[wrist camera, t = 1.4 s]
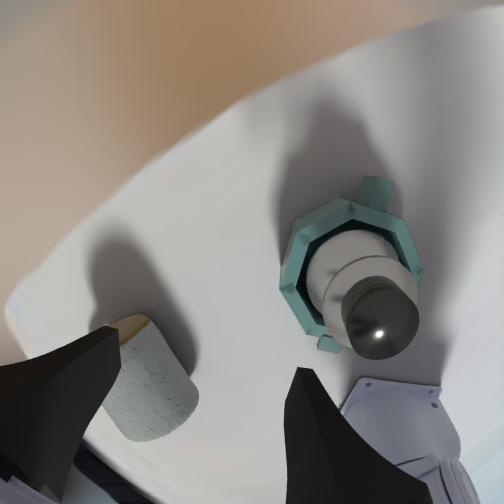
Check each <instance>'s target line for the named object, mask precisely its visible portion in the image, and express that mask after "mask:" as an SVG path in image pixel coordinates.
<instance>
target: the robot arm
mask: <svg viewBox="0 0 504 504" xmlns="http://www.w3.org/2000/svg"><path fill="white" fill-rule="evenodd" d="M121 367H122V365H121V355H120V344H119V330H118V329H116V328H112V327H109V326H103V327H101V328H99V329H97V330H95V331H93V332H91V333H89V334H87V335H85V336H83V337H81V338H79V339H77V340H75V341H73V342H71V343H69V344H67V345H65V346H63V347H60V348H58V349H56V350H54V351H51V352H49V353H47V354H44V355H41V356H39V357H36V358H33V359H29V360H26V361H23V362H18V363H14V364H9V365H4V366H0V504H59V503H61V501H62V496H63V492H64V488H65V484H66V480H67V477H68V474H69V471H70V468H71V465H72V462H73V459H74V457H75V454H76V451H77V449H78V446H79V444H80V442H81V439H82V437H83V435H84V433H85V430H86V429H87V427H88V425H89V423H90V421H91V420H92V418H93V417H94V415H95V413H96V412H97V410H98V409H99V407H100V406H101V404H102V402H103V401H104V399H105V398H106V396H107V395H108V393H109V391H110V390H111V388H112V387H113V385H114V383H115V381H116V378H117V376H118V374H119V372H120V369H121ZM367 383H370V384H368V385H366V384H367ZM430 390H431V391H430ZM441 393H442V388H441V387H439V386H428V385H418V384H409V383H401V382H393V381H385V380H378V379H372V378H360V379H359V380H358V381H357V383H356V385H355V386H354V388H353V390H352V392H351V394H350V395H349V397H348V399H347V400H346V402H345V404H344V406H343V407H342V409H341V411H339V409H338V408H337V407H336V405H335V404H334V402H333V401H332V399H331V398H330V396H329V395H328V393H327V392H326V390H325V388H324V387H323V385H322V383H321V382H320V380H319V378H318V377H317V375H316V373H315V372H314V370H313V369H309V368H301V367H297V370H296V373H295V376H294V378H293V381H292V384H291V387H290V390H289V392H288V395H287V398H286V400H285V408H284V434H285V447H286V460H287V494H286V504H480V500H479V497H478V495H477V492H476V490H475V487H474V485H473V483H472V481H471V479H470V477H469V475H468V473H467V471H466V470H465V468H464V466H463V465H462V464H461V462H460V461H459V457H460V450H461V445H460V439H459V435H458V433H457V431H456V429H455V427H454V425H453V423H452V422H451V420H450V418H449V416H448V414H447V412H446V410H445V408H444V407H443V405H442V403H441V401H440V399H439V398H438V397H439V396H440V394H441Z"/></svg>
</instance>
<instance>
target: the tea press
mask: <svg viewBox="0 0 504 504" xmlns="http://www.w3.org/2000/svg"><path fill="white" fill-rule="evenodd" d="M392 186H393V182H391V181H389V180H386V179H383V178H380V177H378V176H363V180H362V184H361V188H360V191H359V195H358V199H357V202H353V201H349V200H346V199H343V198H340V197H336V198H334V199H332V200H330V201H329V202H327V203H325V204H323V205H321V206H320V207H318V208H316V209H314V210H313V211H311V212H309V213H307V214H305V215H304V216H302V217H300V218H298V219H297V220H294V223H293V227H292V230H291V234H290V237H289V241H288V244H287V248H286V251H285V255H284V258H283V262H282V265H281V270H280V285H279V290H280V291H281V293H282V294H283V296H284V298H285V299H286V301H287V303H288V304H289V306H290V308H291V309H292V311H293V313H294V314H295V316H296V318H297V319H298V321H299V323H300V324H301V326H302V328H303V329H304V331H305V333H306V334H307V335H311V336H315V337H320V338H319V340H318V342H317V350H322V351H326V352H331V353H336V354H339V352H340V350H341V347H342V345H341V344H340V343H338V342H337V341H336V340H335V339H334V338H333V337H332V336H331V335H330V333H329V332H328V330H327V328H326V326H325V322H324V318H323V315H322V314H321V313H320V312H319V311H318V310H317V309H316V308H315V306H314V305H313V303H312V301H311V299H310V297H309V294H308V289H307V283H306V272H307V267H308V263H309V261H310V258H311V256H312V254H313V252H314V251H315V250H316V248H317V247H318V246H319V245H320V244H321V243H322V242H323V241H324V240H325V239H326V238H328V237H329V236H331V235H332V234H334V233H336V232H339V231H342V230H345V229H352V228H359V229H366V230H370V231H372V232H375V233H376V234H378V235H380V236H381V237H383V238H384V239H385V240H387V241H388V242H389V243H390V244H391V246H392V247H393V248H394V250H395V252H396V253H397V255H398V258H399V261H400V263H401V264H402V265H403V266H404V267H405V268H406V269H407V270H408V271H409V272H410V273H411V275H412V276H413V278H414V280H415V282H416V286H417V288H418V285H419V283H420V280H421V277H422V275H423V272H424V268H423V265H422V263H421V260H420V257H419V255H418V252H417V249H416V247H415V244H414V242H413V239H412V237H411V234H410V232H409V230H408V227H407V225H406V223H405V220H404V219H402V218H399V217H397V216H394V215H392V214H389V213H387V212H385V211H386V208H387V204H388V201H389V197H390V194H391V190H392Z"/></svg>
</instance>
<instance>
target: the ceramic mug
mask: <svg viewBox="0 0 504 504" xmlns="http://www.w3.org/2000/svg"><path fill="white" fill-rule="evenodd" d="M108 326H109V327H112V328H116V329H118V330H119V344H120V355H121V365H122V367H121V369H120V372H119V374H118V376H117V378H116V381H115V383H114V385H113V387H112V388H111V390H110V391H109V393H108V395H107V396H106V398H105V399H104V401H103V402H102V406H103V407H104V409H105V410H106V412H107V413H108V415H109V416H110V418H111V419H112V420H113V422H114V423H115V424H116V426H117V427H118V429H119V430H120V431H121V432H122V434H123V435H124V436H125V437H127V438H128V439H130V440H132V441H136V442H138V441H139V442H146V441H151V440H155V439H158V438H160V437H163V436H166V435H167V434H169V433H171V432H173V431H174V430H175V429H177V428H178V427H179V426H181V425H182V424H183V423H184V422H185V421H186V420H187V419H188V418H189V417H190V415H191V414H192V413H193V411H194V410H195V408H196V406H197V404H198V400H199V392H198V389H197V387H196V386H195V385H194V383H193V382H192V381H191V379H190V378H189V376H188V375H187V373H186V371H185V370H184V368H183V367H182V365H181V364H180V362H179V361H178V359H177V358H176V356H175V355H174V353H173V352H172V350H171V349H170V347H169V346H168V344H167V342H166V340H165V339H164V337H163V335H162V334H161V332H160V330H159V329H158V328H157V327H156V325H155V324H154V323H153V322H152V320H151V319H149V318H148V317H147V316H145V315H143V314H134V315H130V316H128V317H125V318H122V319H120V320H118V321H116V322H114V323H112V324H110V325H108Z"/></svg>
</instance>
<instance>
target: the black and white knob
mask: <svg viewBox="0 0 504 504" xmlns="http://www.w3.org/2000/svg"><path fill="white" fill-rule="evenodd" d="M306 283H307V289H308V294H309V297H310V299H311V301H312V303H313V305H314V306H315V308H316V309H317V310H318V311H319V312H320V313H321V314H322V315H323V318H324V322H325V326H326V328H327V330H328V332H329V333H330V335H331V336H332V337H333V338H334V339H335V340H336V341H337V342H338V343H340V344H341V345H343V346H345V347H348V348H351V349H354V350H355V351H356V353H358V354H359V355H360V356H362V357H364V358H367V359H371V360H381V359H386V358H390V357H392V356H394V355H396V354H398V353H400V352H401V351H402V350H404V349H405V348H406V347H407V346H408V345H409V344H410V342H411V341H412V340H413V338H414V336H415V334H416V332H417V329H418V325H419V313H418V309H417V303H418V290H417V286H416V282H415V280H414V278H413V276H412V275H411V273H410V272H409V271H408V270H407V269H406V268H405V267H404V266H403V265H402V264H401V263H400V261H399V258H398V255H397V253H396V252H395V250H394V248H393V247H392V246H391V244H390V243H389V242H388V241H387V240H385V239H384V238H383V237H381V236H380V235H378V234H376V233H375V232H372V231H370V230H366V229H359V228H352V229H345V230H342V231H339V232H336V233H334V234H332V235H331V236H329V237H328V238H326V239H325V240H324V241H323V242H322V243H321V244H320V245H319V246H318V247H317V248H316V250H315V251H314V252H313V254H312V256H311V258H310V261H309V263H308V267H307V272H306Z"/></svg>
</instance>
